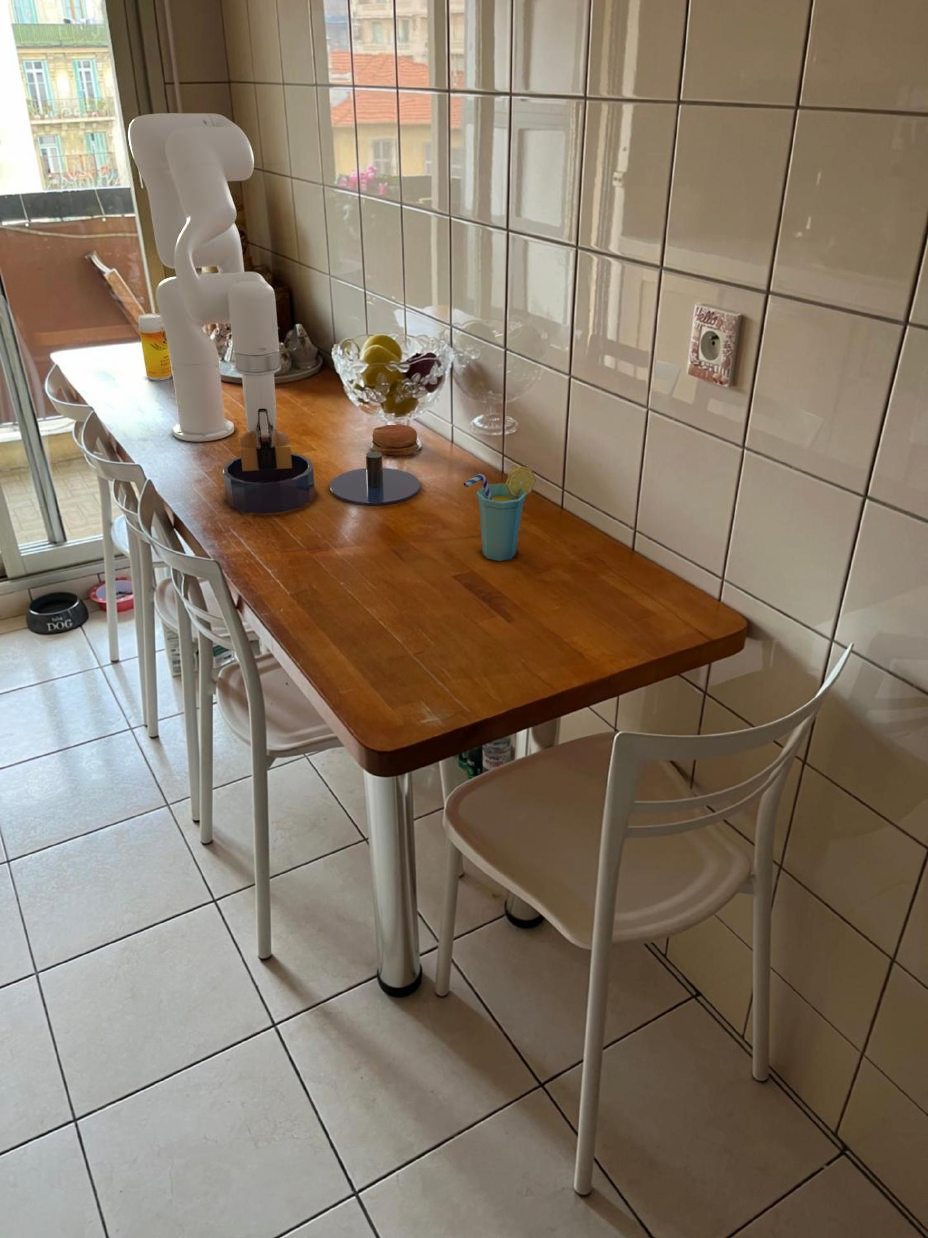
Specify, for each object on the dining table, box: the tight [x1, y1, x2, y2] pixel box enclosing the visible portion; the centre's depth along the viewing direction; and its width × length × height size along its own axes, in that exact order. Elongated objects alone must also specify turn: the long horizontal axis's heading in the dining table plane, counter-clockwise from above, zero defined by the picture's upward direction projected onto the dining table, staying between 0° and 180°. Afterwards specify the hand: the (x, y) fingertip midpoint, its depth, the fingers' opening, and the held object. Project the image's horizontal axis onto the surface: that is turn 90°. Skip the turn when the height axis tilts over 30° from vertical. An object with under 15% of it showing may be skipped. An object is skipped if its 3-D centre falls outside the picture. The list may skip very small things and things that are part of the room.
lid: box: [329, 451, 421, 506], centre depth 169 cm, size 17×17×7 cm
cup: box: [463, 465, 536, 562], centre depth 145 cm, size 14×8×15 cm, turn 133°
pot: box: [222, 452, 316, 514], centre depth 165 cm, size 16×16×6 cm
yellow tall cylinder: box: [137, 312, 173, 381], centre depth 225 cm, size 6×6×15 cm
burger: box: [371, 423, 419, 456], centre depth 187 cm, size 10×9×5 cm
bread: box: [238, 429, 292, 471], centre depth 162 cm, size 9×6×6 cm, turn 103°
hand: (266, 461), depth 163 cm, fingers closed on bread, 5 cm apart
